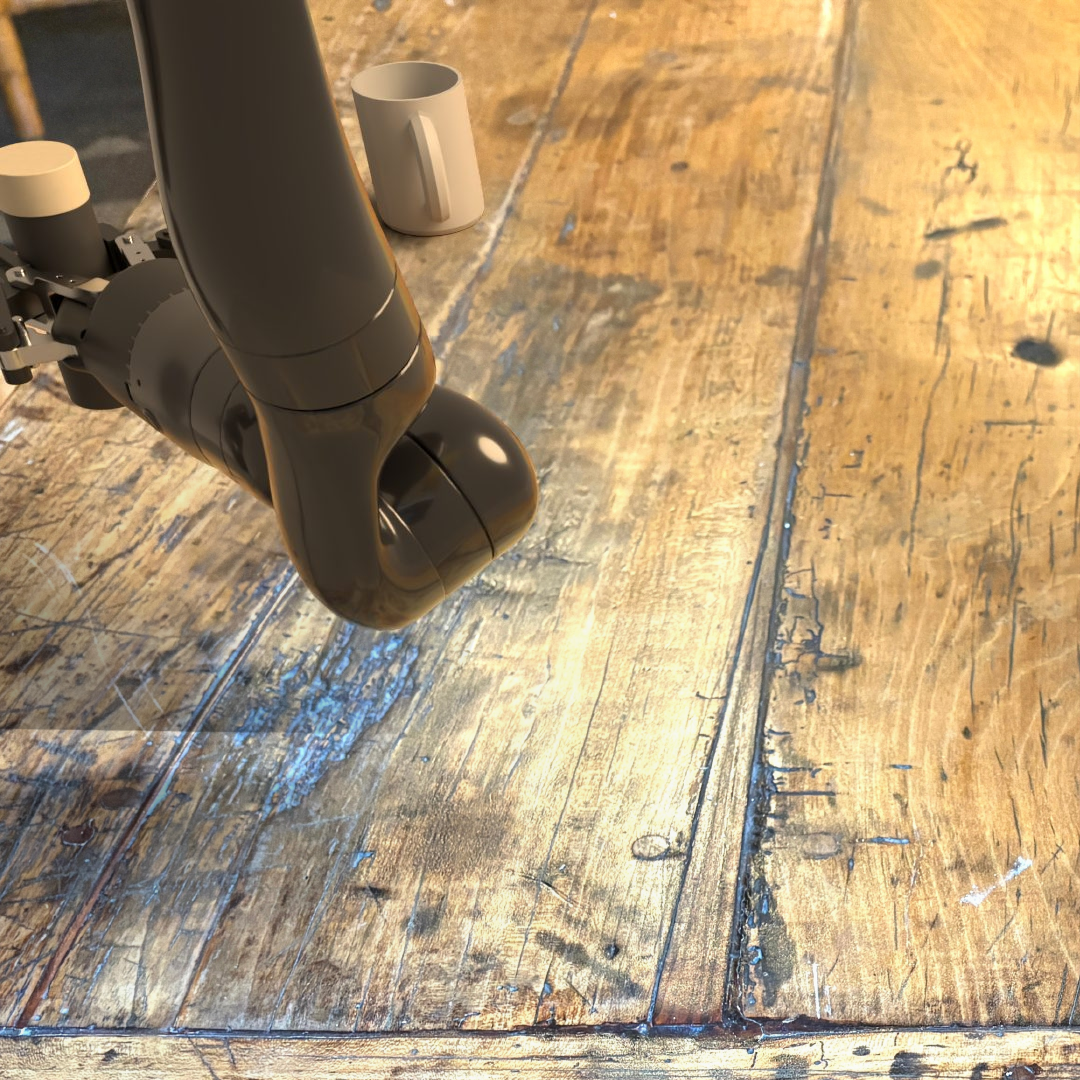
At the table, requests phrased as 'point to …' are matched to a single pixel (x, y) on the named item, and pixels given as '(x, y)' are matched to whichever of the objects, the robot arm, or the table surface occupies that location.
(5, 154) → the glue stick
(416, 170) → the cup
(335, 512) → the robot arm
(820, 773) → the table surface
